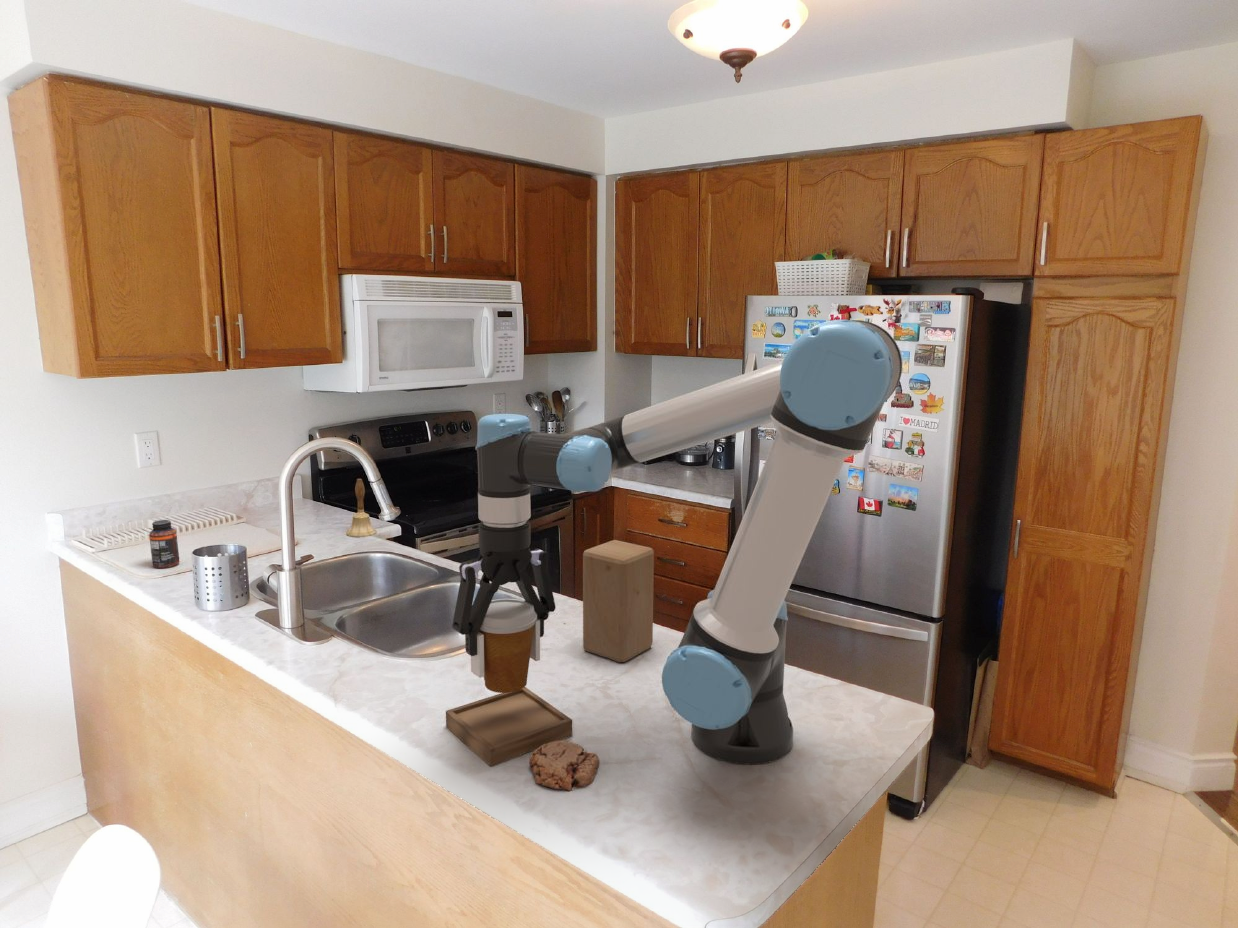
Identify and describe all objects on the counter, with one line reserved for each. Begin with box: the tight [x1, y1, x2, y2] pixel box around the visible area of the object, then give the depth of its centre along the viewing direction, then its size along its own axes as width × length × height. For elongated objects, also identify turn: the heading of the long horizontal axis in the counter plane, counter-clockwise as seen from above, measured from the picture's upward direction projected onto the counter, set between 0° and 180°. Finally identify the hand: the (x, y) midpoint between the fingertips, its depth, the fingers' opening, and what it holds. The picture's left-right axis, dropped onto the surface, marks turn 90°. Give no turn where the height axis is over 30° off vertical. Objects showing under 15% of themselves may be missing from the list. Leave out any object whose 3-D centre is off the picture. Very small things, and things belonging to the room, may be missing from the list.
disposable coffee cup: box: [479, 598, 537, 694], centre depth 122 cm, size 10×10×12 cm
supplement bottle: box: [148, 519, 180, 569], centre depth 201 cm, size 6×6×11 cm
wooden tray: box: [445, 686, 573, 767], centre depth 124 cm, size 14×14×3 cm
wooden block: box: [582, 539, 655, 663], centre depth 153 cm, size 10×10×20 cm
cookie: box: [528, 740, 601, 792], centre depth 114 cm, size 10×11×3 cm
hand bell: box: [345, 478, 378, 538], centre depth 231 cm, size 8×8×16 cm
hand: (506, 665), depth 122 cm, fingers closed on disposable coffee cup, 9 cm apart
